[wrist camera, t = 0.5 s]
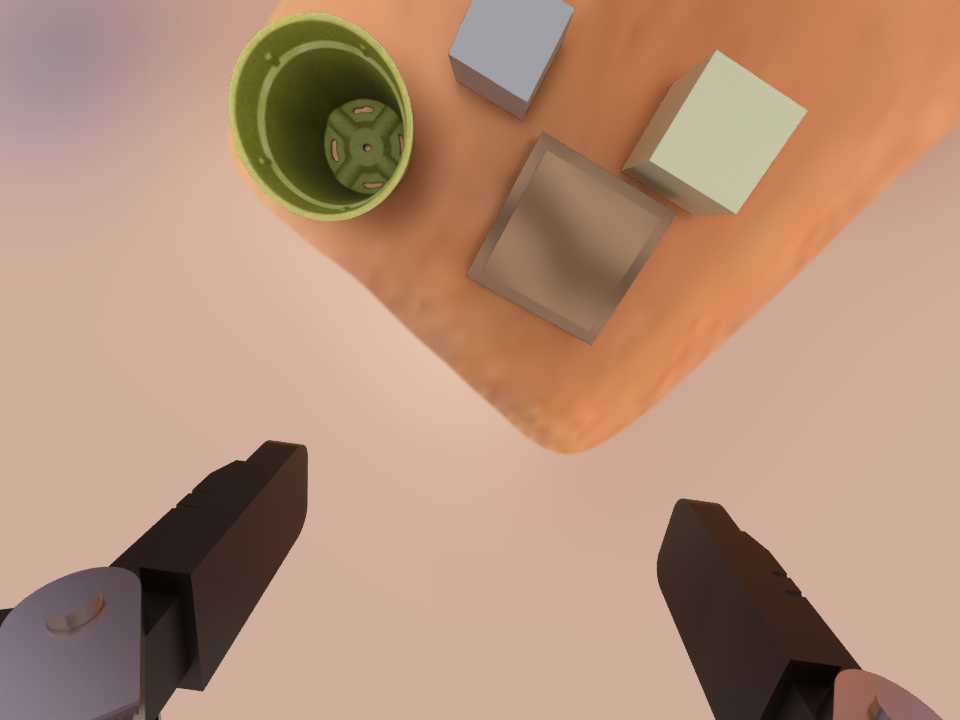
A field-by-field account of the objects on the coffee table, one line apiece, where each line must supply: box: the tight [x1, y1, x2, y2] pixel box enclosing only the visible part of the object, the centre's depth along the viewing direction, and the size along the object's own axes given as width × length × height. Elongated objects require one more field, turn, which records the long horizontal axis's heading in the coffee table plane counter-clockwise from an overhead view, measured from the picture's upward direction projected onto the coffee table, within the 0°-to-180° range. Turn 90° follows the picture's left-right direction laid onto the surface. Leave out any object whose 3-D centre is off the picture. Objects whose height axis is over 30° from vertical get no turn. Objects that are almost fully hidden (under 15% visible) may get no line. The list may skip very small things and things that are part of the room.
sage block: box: [621, 50, 808, 215], centre depth 27 cm, size 6×6×6 cm
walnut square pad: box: [466, 131, 677, 345], centre depth 30 cm, size 10×10×3 cm
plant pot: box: [228, 12, 414, 221], centre depth 26 cm, size 9×9×9 cm
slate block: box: [449, 0, 575, 120], centre depth 26 cm, size 5×5×5 cm
